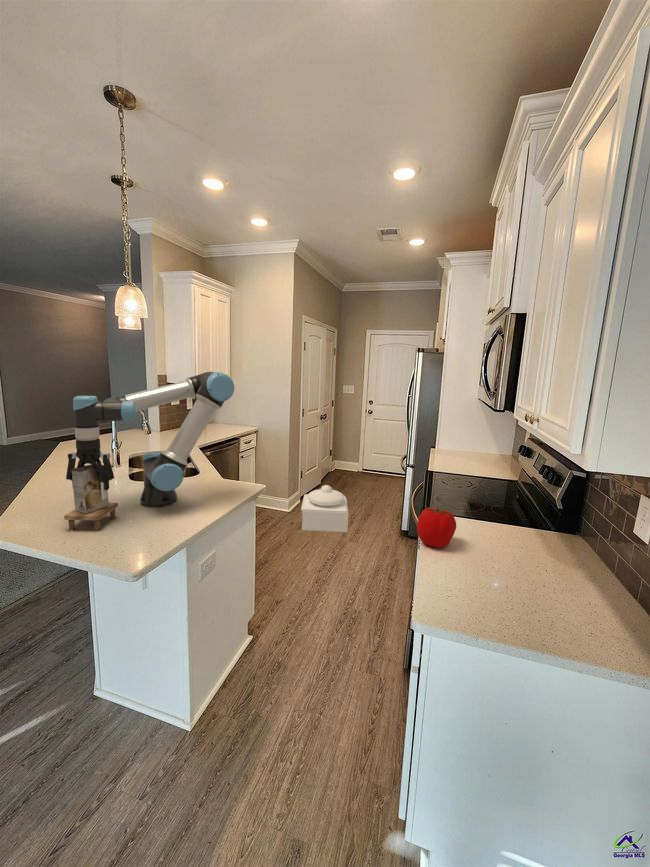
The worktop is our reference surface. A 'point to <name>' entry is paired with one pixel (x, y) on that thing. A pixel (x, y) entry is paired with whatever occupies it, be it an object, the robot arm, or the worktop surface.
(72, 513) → the stool
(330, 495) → the white lidded dish
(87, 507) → the coffee box
